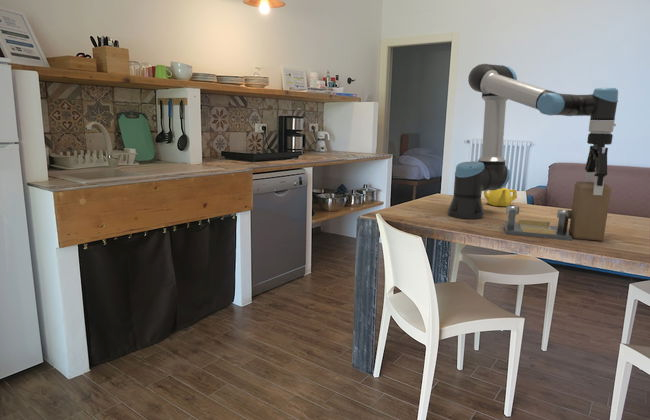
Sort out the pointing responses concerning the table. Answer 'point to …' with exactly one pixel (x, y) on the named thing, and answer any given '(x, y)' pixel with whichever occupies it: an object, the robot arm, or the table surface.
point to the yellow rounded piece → (500, 197)
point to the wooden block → (589, 212)
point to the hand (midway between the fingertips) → (592, 192)
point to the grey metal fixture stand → (538, 225)
